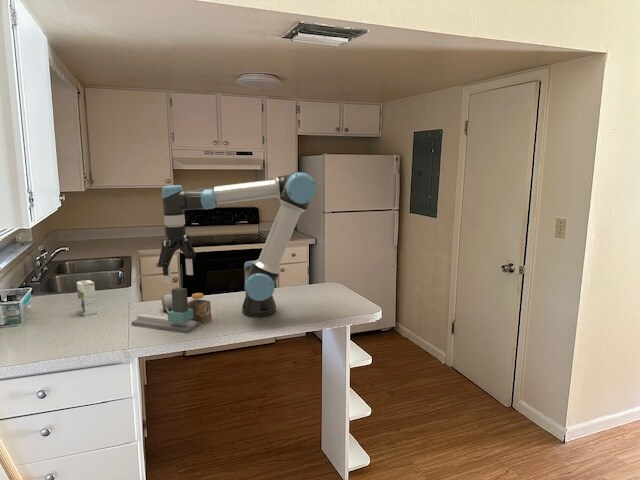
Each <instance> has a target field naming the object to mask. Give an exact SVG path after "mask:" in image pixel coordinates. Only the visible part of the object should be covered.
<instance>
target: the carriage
mask: <svg viewBox="0 0 640 480" xmlns="http://www.w3.org/2000/svg"><path fill="white" fill-rule="evenodd" d="M187 289H188V288H183V287H174V288H171V294H172V305H173V310H171V311H170V312H167V317H168V322H175V323H182V324H183V323H185V322H187V321H189V320H190V319H192V318H194V314H193V309H189V308H188V302H189V301H188V290H187Z"/></svg>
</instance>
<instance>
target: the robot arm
mask: <svg viewBox="0 0 640 480" xmlns="http://www.w3.org/2000/svg"><path fill="white" fill-rule="evenodd" d="M316 192H317V185H316V182H315V180H314V178H313V177H312V176H311V175H310V174H308V173H305V172H302V171H300V172H299V171H296V172H292V173H288V174H285V175H284V174H283V175H280V176H279V175H278V176H276V177H275V178H273V179H267V180H258V181H249V182H243V183H242V182H241V183H233V184H223V185H216V186H209V187H208V186H207V187H199V188H197V189H191V190H190V189H189V190H187V189H184V188H183V185H179V184H178V185H177V184H176V185H174V184H173V185H165V186H163V187H162V189H161V194H162V195H161V196H162V198H161V199H162V200H161V201H162V207H163V216H164V217H163V219H164V220H163V221H164V226H165V227H164V232H165V236H166V237H167V240H161V241H162V242H161V250H160V254H159V258H158V263H157V266H158V267H159V268H162V275H163V278H164V279H163V280H164V284H167V285H169V284H170V285H171V284H172V283H173V282H172V280H173V279H172V272H171V269H172V268H171V266H170V264H171V261H172V258H173V257H174V254H175V252H176V251H177V250H180V252H182V253H183V255H184V257H185V273H186V276H187V275H188V276H193V275H194V268H193V267H194V266H193V265H194V263H193V260H194V259H195V258H196V255H197V254H196V252H195V248H194V247H193V244H192V242H191V239H190V235H187V232H186V230H187V229H186V226H185V225H186V218H185V211H189V210H191V211H192V210H211V209H213V210H214V209H215V208H216V205H222V204H223V205H224V204H230V203H231V204H232V203H240V202H247V201H255V200H266V199H274V198H277V199H279V202H280V206H279V209H278V211H277V214H276V216H275V219H274V221H273V222H272V223H273V224H272V225H271V228H270V231H269V233H268V235H267V237H266V240H265V243H264V245H263V248H262V249H261V251H260V255H259V257H258V259H256V260H248V261H245V262H244V267H243V269H244V292H245V295H244V296H245V297H244V300H243V303H242V306H241V313H242V315H243V316H246V317H250V318H252V317H253V318H263V317H269V316H272V315H275V314H276V313H277V310H278V309H277V304H276V301H275V298H274V295H273V294H274V292H275V288H276V283H277V280H278V277H279V275H280V273H281V272H280V270H279V266H280V264H281V261H282V258H283V256H284V254H285V251H286V249H287V247H288V245H289V242H290V240H291V237H292V235H293V233H294V230H295V228H296V226H297V223H298V221H299V219H300V217H301V214H302V213H304V212H307V209H308V207H309V205H310V202H311V201H312V200H313V199H314V197H315V196H316Z"/></svg>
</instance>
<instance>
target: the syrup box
mask: <svg viewBox="0 0 640 480" xmlns="http://www.w3.org/2000/svg"><path fill="white" fill-rule="evenodd" d="M76 289H77V303H78V304H77V305H78V312H79V314H80V315H81V316H83V317H87V316H92V315H94V314H95V315H96V314H97V313H98V311H97V300H96V289H95V282H94V281H92V280H91V279H88V280H87V279H86V280H79V281H77V282H76Z"/></svg>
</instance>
